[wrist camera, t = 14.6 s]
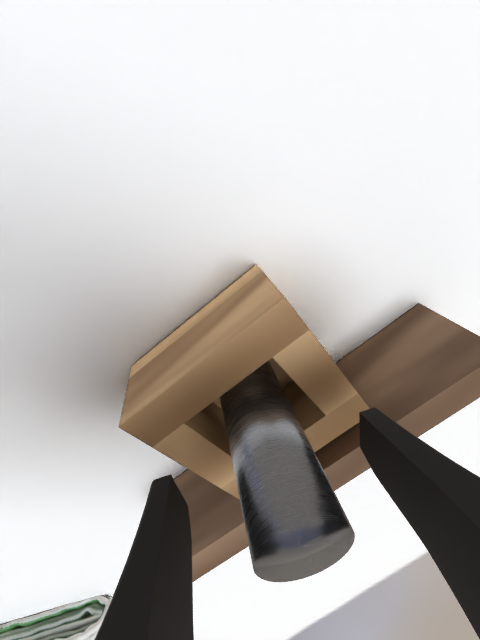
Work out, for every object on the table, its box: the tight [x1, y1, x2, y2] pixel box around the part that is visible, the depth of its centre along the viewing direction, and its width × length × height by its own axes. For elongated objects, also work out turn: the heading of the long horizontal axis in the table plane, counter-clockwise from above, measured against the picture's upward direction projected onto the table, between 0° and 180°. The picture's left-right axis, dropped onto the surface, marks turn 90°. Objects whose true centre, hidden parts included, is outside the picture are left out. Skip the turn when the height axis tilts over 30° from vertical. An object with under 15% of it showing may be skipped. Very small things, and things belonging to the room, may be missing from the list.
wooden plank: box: [174, 304, 480, 582], centre depth 17 cm, size 2×20×5 cm, turn 127°
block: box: [119, 265, 370, 500], centre depth 14 cm, size 8×8×4 cm
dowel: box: [220, 361, 355, 582], centre depth 12 cm, size 3×3×8 cm
